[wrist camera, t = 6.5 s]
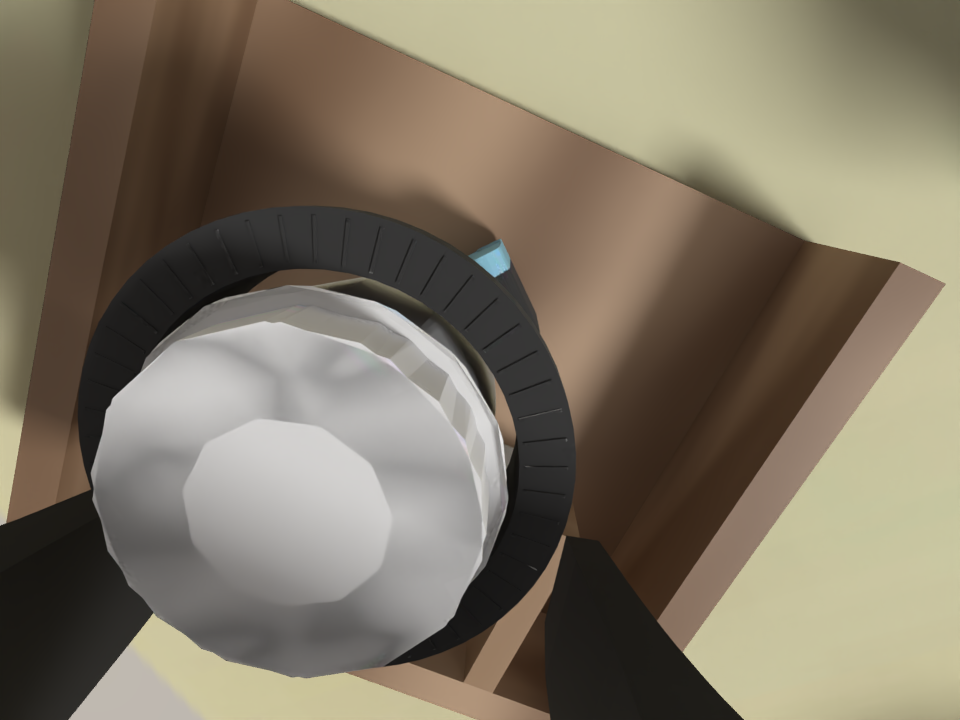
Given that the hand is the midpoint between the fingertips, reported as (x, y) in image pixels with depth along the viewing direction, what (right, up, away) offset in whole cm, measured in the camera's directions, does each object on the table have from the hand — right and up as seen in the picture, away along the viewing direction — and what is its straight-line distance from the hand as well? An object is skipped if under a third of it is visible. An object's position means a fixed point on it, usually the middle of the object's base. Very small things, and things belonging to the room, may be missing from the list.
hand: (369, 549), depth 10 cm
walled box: (+1, +3, +5) cm, 6 cm away
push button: (0, +5, +4) cm, 6 cm away
